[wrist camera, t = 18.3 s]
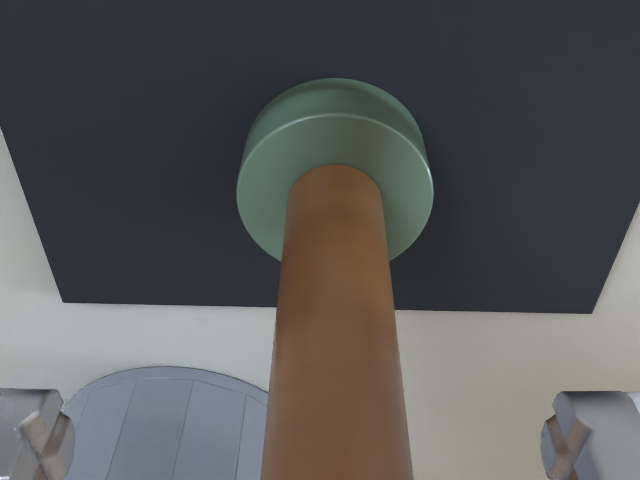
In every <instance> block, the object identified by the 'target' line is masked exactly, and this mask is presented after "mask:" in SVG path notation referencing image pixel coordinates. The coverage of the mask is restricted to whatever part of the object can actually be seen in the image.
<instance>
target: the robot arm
mask: <svg viewBox="0 0 640 480" xmlns="http://www.w3.org/2000/svg"><path fill="white" fill-rule="evenodd" d="M62 404H63V400H62V398H61V396H60V394H59V392H58V390H57V389H14V388H0V480H62V479H63V478H65V477H66V476H67V475H68V472H69V469H70V466H71V463H72V460H73V456H74V448H75V440H76V439H75V430H74V426H73V423H72V421H71V418H70V417H68V416H67V415H65V414H63V413H62V412H60V410H61V407H62ZM552 405H553V408H554V411H555V415H554V416H552V417H551V418H549V419H548V420H546V421H545V424H544V426H543V429H542V432H541V454H542V460H543V465H544V468H545V471H546V475H547V477H548V478H549V479H550V480H640V392H621V391H563V392H560V393H559V394H557V395H556V397H555V400H554V402H553V404H552Z"/></svg>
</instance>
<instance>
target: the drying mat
mask: <svg viewBox="0 0 640 480" xmlns="http://www.w3.org/2000/svg"><path fill="white" fill-rule="evenodd" d="M327 78H342V79H352V80H356V81H361V82H365V83H367V84H370V85H373V86H376V87H378V88H380V89H382V90H384V91H386V92H387V93H389V94H390V95H392V96H393V97H395V98H396V99H397V100H398V101H399V102H400V103H402V104H403V105H404V106H405V107H406V109H407V110H408V111H409V112H410V113H411V115H412V116H413V118H414V119H415V121H416V123H417V124H418V127H419V129H420V132H421V134H422V138H423V142H424V146H425V150H426V155H427V159H428V163H429V168H430V172H431V176H432V180H433V190H434V195H433V205H432V209H431V213H430V216H429V218H428V220H427V223H426V225H425V226H424V228H423V230H422V232H421V233H420V235H419V236H418V237H417V238H416V240H415V241H414V242H413V243H412V244H411V245H410V246H409V247H408V248H407V249H406V250H405V251H403V252H402V253H401V254H399V255H398V256H397V257H395V258H393V259H392V260H390V261H389V265H390V274H391V283H392V292H393V301H394V310H433V311H480V312H528V313H575V314H592V312H593V310H594V307H595V305H596V303H597V300H598V298H599V296H600V293H601V291H602V289H603V286H604V284H605V282H606V279H607V277H608V275H609V272H610V270H611V268H612V265H613V263H614V260H615V258H616V256H617V253H618V251H619V249H620V246H621V244H622V242H623V239H624V237H625V235H626V232H627V230H628V228H629V225H630V223H631V221H632V218H633V216H634V214H635V211H636V209H637V207H638V204H639V202H640V0H0V127H1V130H2V132H3V135H4V138H5V141H6V144H7V146H8V149H9V152H10V155H11V158H12V161H13V163H14V166H15V169H16V172H17V175H18V177H19V180H20V183H21V186H22V189H23V191H24V194H25V197H26V200H27V203H28V206H29V208H30V211H31V214H32V217H33V220H34V222H35V225H36V228H37V231H38V234H39V236H40V239H41V242H42V245H43V248H44V251H45V253H46V256H47V259H48V262H49V265H50V267H51V270H52V273H53V276H54V279H55V281H56V284H57V287H58V290H59V293H60V295H61V298H62V301H63V303H100V304H147V305H195V306H242V307H277V301H278V291H279V280H280V270H281V261H279V260H277V259H276V258H274V257H273V256H271V255H270V254H268V253H267V252H266V251H265V250H263V249H262V248H261V247H260V246H259V245H258V244H257V243H256V242H255V241H254V239H253V238H252V237H251V235H250V234H249V233H248V231H247V230H246V228H245V226H244V224H243V222H242V220H241V217H240V214H239V211H238V206H237V200H236V187H237V181H238V175H239V171H240V166H241V161H242V157H243V152H244V148H245V143H246V139H247V136H248V133H249V130H250V128H251V126H252V124H253V122H254V120H255V119H256V117H257V116H258V115H259V113H260V112H261V111H262V110H263V108H264V107H265V106H266V105H267V104H268V103H269V102H271V101H272V100H273V99H274V98H276V97H277V96H278V95H280V94H281V93H283V92H285V91H286V90H288V89H290V88H293V87H295V86H297V85H299V84H303V83H306V82H309V81H313V80H319V79H327Z"/></svg>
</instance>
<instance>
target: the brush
mask: <svg viewBox="0 0 640 480" xmlns="http://www.w3.org/2000/svg"><path fill="white" fill-rule="evenodd" d="M433 195H434V190H433V180H432V176H431V172H430V168H429V163H428V159H427V155H426V150H425V146H424V142H423V138H422V134H421V132H420V129H419V127H418V124H417V123H416V121H415V119H414V118H413V116H412V115H411V113H410V112H409V111H408V110H407V109H406V107H405V106H404V105H403V104H402V103H400V102H399V101H398V100H397V99H396V98H395V97H393V96H392V95H390V94H389V93H387V92H386V91H384V90H382V89H380V88H378V87H376V86H373V85H370V84H367V83H365V82H361V81H356V80H352V79H342V78H327V79H319V80H313V81H309V82H306V83H303V84H299V85H297V86H295V87H293V88H290V89H288V90H286V91H285V92H283V93H281V94H280V95H278V96H277V97H276V98H274V99H273V100H272V101H271V102H269V103H268V104H267V105H266V106H265V107H264V108H263V110H262V111H261V112H260V113H259V115H258V116H257V117H256V119H255V120H254V122H253V124H252V126H251V128H250V130H249V133H248V136H247V139H246V143H245V148H244V152H243V157H242V161H241V166H240V171H239V175H238V181H237V187H236V200H237V206H238V211H239V214H240V217H241V220H242V222H243V224H244V226H245V228H246V230H247V231H248V233H249V234H250V235H251V237H252V238H253V239H254V241H255V242H256V243H257V244H258V245H259V246H260V247H261V248H262V249H263V250H265V251H266V252H267V253H268V254H270V255H271V256H273V257H274V258H276V259H277V260H279V261H281V270H280V280H279V291H278V301H277V311H276V322H275V332H274V342H273V353H272V363H271V373H270V384H269V394H268V404H267V415H266V425H265V435H264V446H263V456H262V466H261V477H260V480H414V479H413V470H412V461H411V452H410V443H409V435H408V426H407V417H406V408H405V399H404V390H403V381H402V372H401V363H400V354H399V346H398V337H397V328H396V319H395V310H394V301H393V292H392V283H391V274H390V265H389V261H390V260H392V259H393V258H395V257H397V256H398V255H399V254H401V253H402V252H403V251H405V250H406V249H407V248H408V247H409V246H410V245H411V244H412V243H413V242H414V241H415V240H416V238H417V237H418V236H419V235H420V233H421V232H422V230H423V228H424V226H425V225H426V223H427V220H428V218H429V216H430V213H431V209H432V205H433Z"/></svg>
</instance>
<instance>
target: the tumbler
mask: <svg viewBox="0 0 640 480" xmlns="http://www.w3.org/2000/svg"><path fill="white" fill-rule="evenodd" d="M267 404H268V394H267V393H265V392H264V391H262V390H260V389H258V388H256V387H254V386H252V385H250V384H247V383H245V382H243V381H240V380H238V379H235V378H231V377H228V376H225V375H222V374H218V373H213V372H209V371H205V370H198V369H191V368H180V367H148V368H139V369H132V370H127V371H122V372H118V373H114V374H111V375H108V376H105V377H103V378H100V379H98V380H96V381H94V382H92V383H90V384H89V385H87V386H86V387H84V388H83V389H81V390H80V391H79V392H78V393H77V394H76V395H75V396H74V397H72V399H71V400H70V401H69V403H68V404H67V406H66V407H65V410H64V412H62V413H63V414H65V415H67V416H68V417H70V418H71V421H72V423H73V426H74V430H75V439H76V440H75V448H74V456H73V460H72V463H71V466H70V469H69V472H68V475H67V476H66V477H65V478H63V479H62V480H260V477H261V466H262V456H263V446H264V435H265V425H266V415H267Z"/></svg>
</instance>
